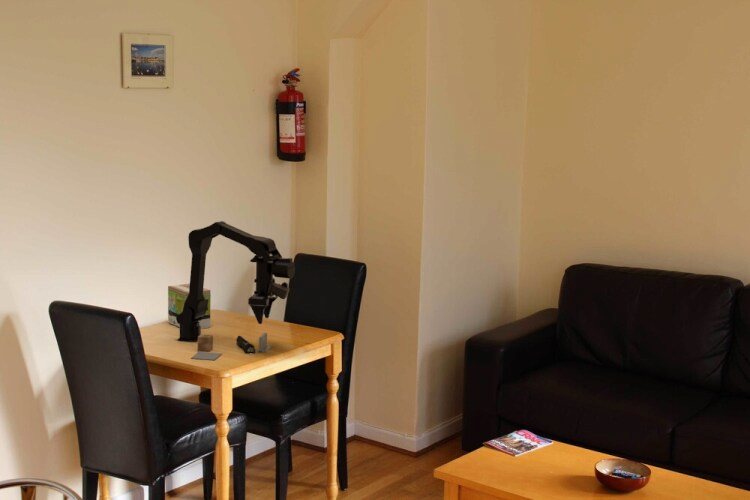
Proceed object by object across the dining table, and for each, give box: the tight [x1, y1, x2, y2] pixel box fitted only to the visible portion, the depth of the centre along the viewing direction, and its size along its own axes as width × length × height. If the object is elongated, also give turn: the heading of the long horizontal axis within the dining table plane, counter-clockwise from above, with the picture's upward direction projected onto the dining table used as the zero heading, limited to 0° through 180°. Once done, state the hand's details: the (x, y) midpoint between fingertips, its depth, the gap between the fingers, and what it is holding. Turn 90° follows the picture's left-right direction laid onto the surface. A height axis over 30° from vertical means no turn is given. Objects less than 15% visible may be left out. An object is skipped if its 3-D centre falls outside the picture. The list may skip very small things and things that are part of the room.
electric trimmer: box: [235, 335, 256, 354], centre depth 320 cm, size 4×16×3 cm, turn 22°
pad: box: [190, 351, 223, 361], centre depth 307 cm, size 8×8×1 cm
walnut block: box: [197, 333, 214, 353], centre depth 315 cm, size 4×4×5 cm
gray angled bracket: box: [257, 332, 272, 353], centre depth 319 cm, size 3×7×5 cm, turn 172°
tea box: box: [167, 283, 212, 330], centre depth 349 cm, size 15×10×15 cm
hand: (263, 320), depth 318 cm, fingers open, 9 cm apart
